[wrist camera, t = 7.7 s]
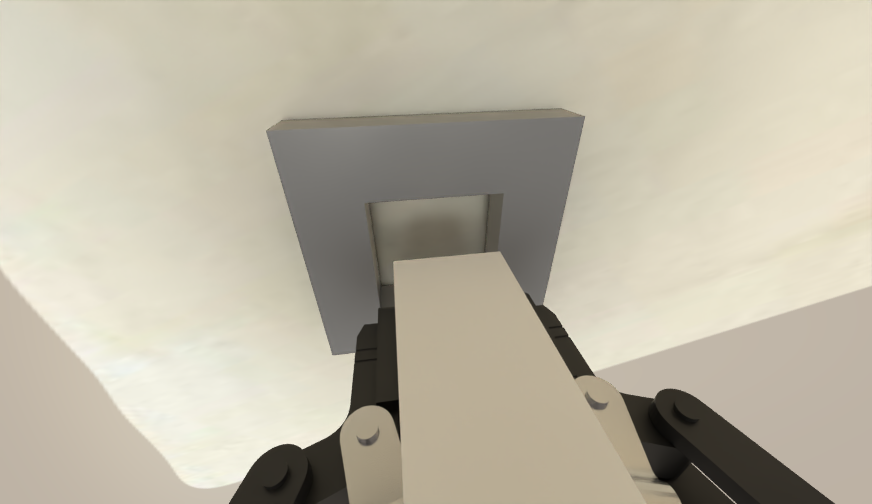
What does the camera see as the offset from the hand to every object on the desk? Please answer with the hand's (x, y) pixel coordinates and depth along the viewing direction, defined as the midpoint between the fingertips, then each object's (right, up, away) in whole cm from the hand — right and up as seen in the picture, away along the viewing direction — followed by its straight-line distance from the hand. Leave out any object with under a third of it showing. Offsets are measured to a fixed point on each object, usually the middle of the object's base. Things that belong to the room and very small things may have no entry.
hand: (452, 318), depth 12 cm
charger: (0, +1, +1) cm, 1 cm away
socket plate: (-1, +3, +5) cm, 6 cm away
